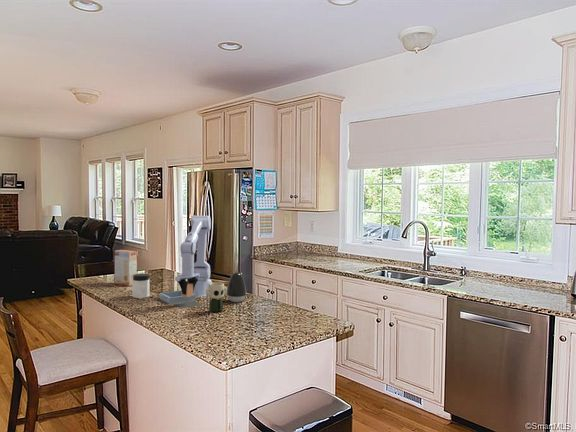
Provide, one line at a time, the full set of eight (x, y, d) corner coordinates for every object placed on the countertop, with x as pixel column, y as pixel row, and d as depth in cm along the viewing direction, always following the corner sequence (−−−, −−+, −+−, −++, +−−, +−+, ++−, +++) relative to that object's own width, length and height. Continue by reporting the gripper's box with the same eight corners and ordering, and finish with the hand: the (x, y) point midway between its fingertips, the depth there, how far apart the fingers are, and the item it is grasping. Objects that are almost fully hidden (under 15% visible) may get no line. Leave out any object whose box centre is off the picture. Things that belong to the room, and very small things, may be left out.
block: (187, 294, 216) (187, 282, 215) (193, 295, 213) (193, 283, 213) (181, 296, 212) (181, 284, 212) (186, 297, 210) (187, 285, 210)
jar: (134, 299, 224) (134, 276, 223) (130, 296, 231) (130, 274, 230) (151, 297, 229) (151, 275, 228) (147, 294, 236) (147, 272, 235)
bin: (184, 296, 233) (184, 289, 233) (195, 301, 222) (195, 294, 222) (159, 299, 225) (159, 292, 224) (169, 305, 213) (169, 298, 213)
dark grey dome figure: (249, 300, 226) (250, 271, 226) (239, 304, 217) (240, 274, 216) (233, 298, 231) (233, 270, 230) (222, 302, 221) (223, 272, 221)
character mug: (209, 314, 197) (209, 286, 197) (202, 311, 203) (202, 283, 203) (230, 311, 204) (230, 284, 203) (222, 307, 210) (223, 281, 209)
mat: (194, 302, 220) (194, 301, 220) (203, 306, 212) (203, 305, 212) (172, 305, 213) (172, 304, 213) (180, 309, 205) (180, 308, 205)
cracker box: (137, 285, 261) (137, 250, 260) (128, 286, 256) (128, 251, 255) (122, 282, 268) (122, 249, 267) (114, 283, 263) (114, 250, 262)
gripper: (193, 263, 220) (193, 290, 221) (171, 267, 208) (170, 294, 209) (203, 265, 216) (202, 291, 217) (180, 268, 204) (180, 296, 205)
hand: (187, 293), depth 213 cm, fingers closed on block, 4 cm apart
